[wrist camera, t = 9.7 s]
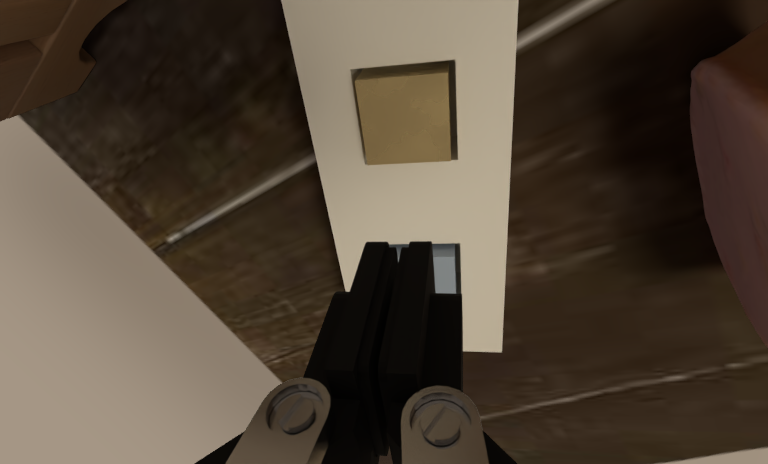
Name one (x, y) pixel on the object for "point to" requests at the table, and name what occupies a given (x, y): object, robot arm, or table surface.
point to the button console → (428, 179)
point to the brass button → (405, 113)
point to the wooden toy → (45, 50)
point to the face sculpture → (736, 164)
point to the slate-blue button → (440, 266)
